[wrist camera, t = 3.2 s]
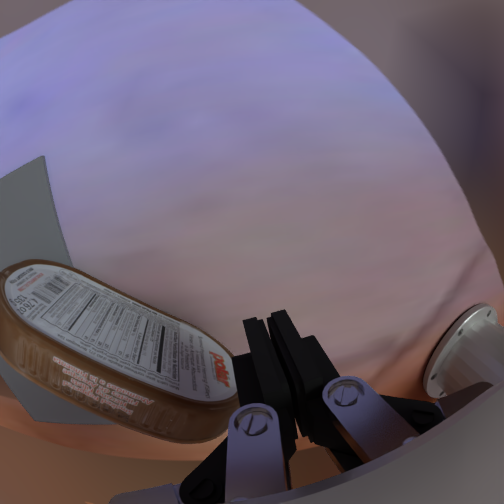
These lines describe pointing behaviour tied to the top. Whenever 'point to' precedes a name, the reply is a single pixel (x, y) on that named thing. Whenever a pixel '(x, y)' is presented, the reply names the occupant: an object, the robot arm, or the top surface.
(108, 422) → the mat
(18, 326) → the tin
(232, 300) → the top surface
